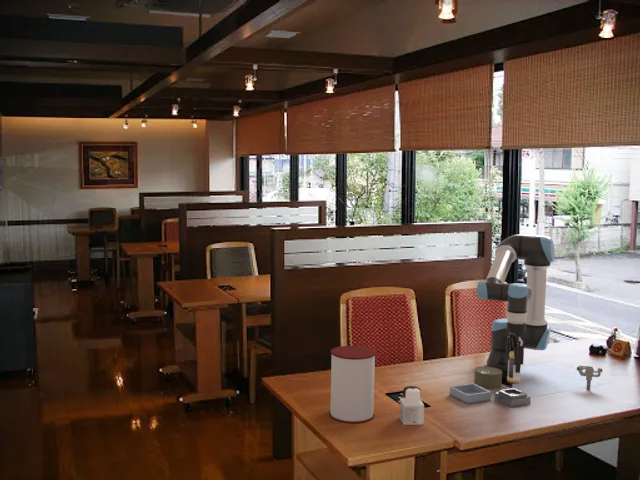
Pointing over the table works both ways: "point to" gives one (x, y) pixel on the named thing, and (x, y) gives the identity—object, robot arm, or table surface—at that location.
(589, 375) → the mechanical component
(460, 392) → the tray
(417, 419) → the container
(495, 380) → the can
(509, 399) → the recessed square block
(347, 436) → the table surface
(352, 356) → the container
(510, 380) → the strut
